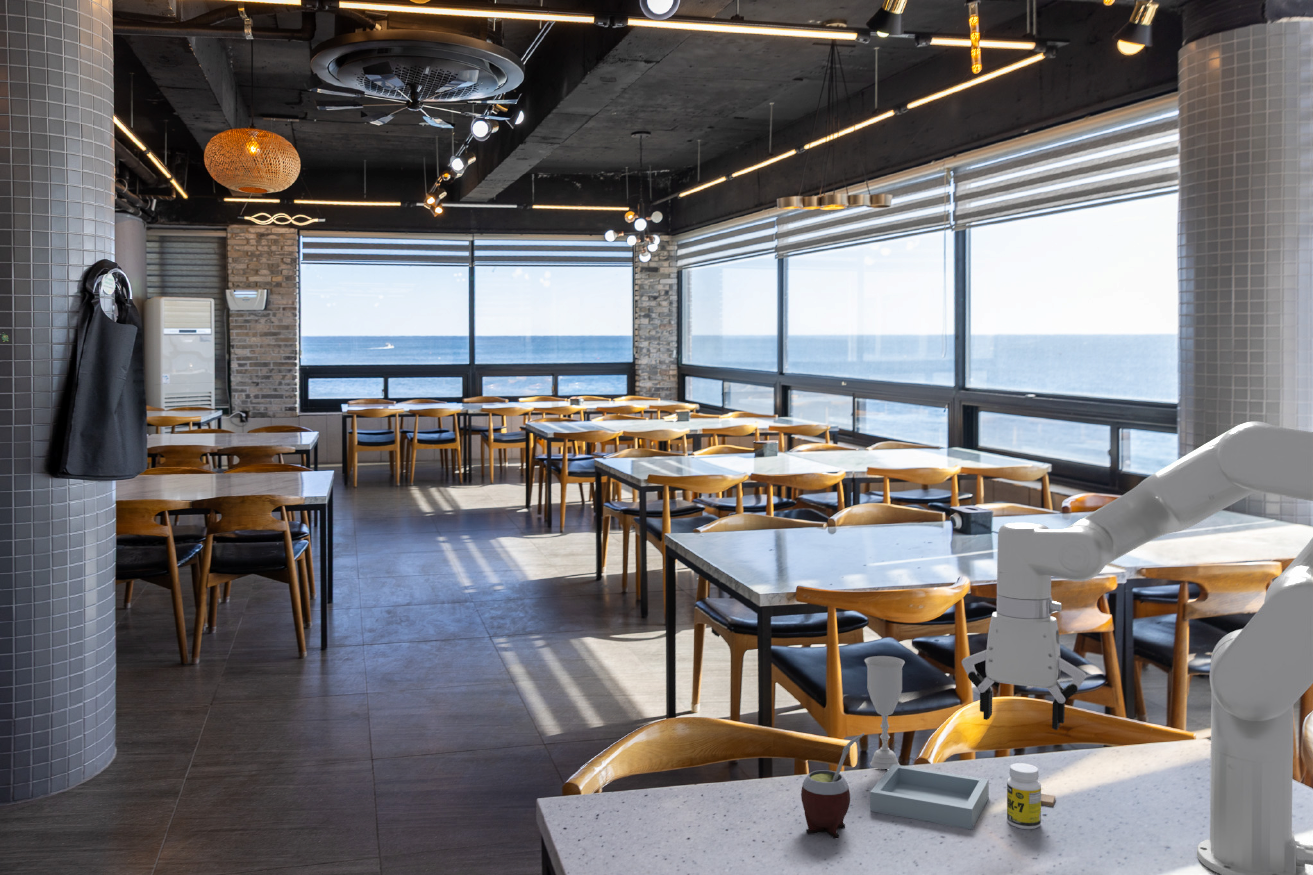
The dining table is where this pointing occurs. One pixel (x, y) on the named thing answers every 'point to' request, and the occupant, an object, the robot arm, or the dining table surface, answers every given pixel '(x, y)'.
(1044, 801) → the walnut pad
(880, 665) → the chalice
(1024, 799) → the supplement bottle
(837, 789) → the mate gourd
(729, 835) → the dining table surface
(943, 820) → the tray
